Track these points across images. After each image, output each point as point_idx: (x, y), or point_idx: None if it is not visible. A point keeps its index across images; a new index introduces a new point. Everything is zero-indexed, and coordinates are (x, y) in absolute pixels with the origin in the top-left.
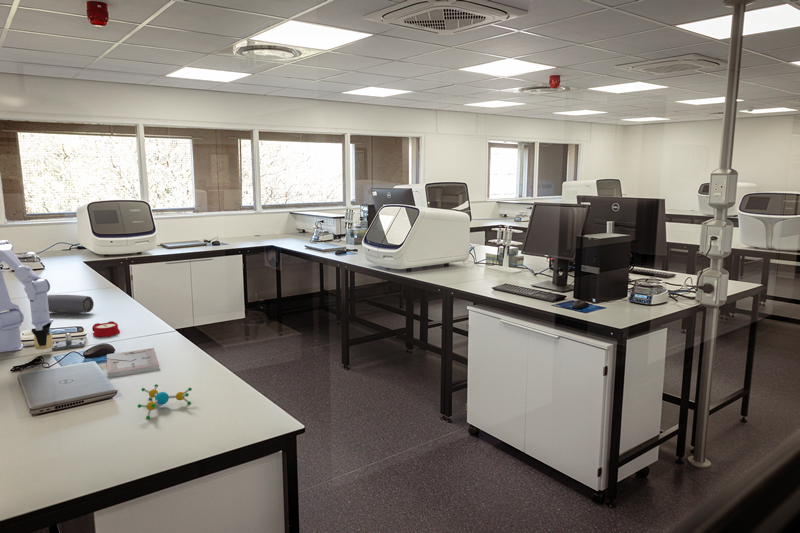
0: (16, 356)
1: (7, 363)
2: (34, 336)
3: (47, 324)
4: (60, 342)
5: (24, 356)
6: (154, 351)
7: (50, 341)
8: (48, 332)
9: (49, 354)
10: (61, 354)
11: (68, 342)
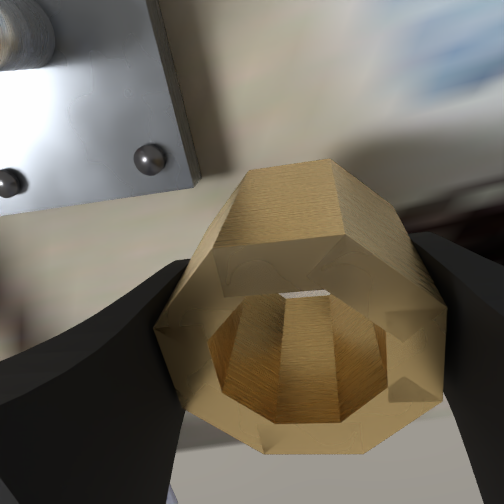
0: None
1: (450, 412)
2: (356, 447)
3: (46, 474)
4: (4, 147)
5: None
6: None
7: (354, 198)
8: (140, 313)
9: None
10: (392, 25)
11: (42, 25)
